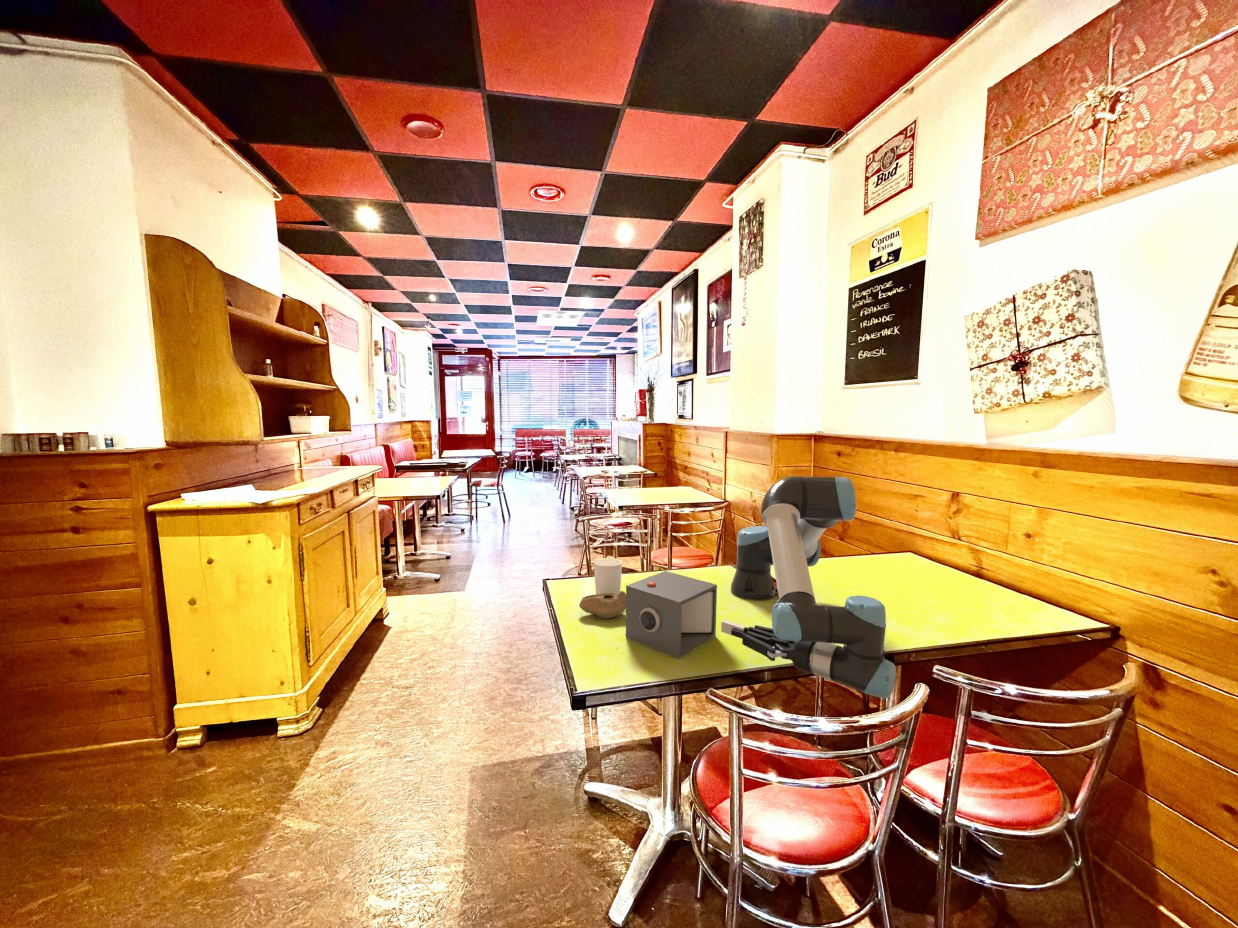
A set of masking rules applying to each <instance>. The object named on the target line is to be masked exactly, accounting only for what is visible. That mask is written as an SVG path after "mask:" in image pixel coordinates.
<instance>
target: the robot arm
mask: <svg viewBox="0 0 1238 928" xmlns="http://www.w3.org/2000/svg"><path fill="white" fill-rule="evenodd" d="M856 496H857V495H856V491H855V485H854V483H853V481H852V480H851V479H850V478H849V477H844V476H843V477H841V476H840V477H839V476H833V477H832V476H798V475H791V476H786V477H784V478H781V479H779V480H778V481H776V482H774V484H772V485H771V486H770V488H769V489H768V490H767V491H766V493H765V495H764V496H763V499H762V502H761V507H760V515H761V522H762V523H763V524H764V526H763V525H757V526H756V525H755V526H748V527H744V528H742V529H740V530H739V531H738V533H737V540H736V545H737V546H736V547H737V548H736V570H735V574H734V575H733V579H732V580H731V581H732V582H731V585H730V592H731V593H732V594H733V595H734V596H736V597H739V598H742V599H745V600H752V601H767V600H772V599H773V598H774V597H775V596H776V588H777V594H778V600H779V601H780V603H777V602H776V603H774V604H773V606H772V609H771V627H767V626H763V625H762V626H761V625H754V627H753V626H748V627H747V626H745V625H741V624H740V623H735V622H732V621H729V620H726V619H724V620H722V621H721V622H720V623H721V624H720V625H721V627H720V628H721V630H720V633H724V634H726V635H730V636H732V637H735V638H739V639H741V644H742V645H743V646H745V647H746V648H748V649H751V650H752V651H755V652H756V653H758V654H760V655H762V656H764V657H766V658H767V659H768V660H770V661H772V662H775V661H776V658H780V659H781V658H782V659H783V660H790V661H791V662H792V663H793V666H794V667H795V668H796V669H798V670H800V671H802V672H805V673H809V674H812V673H813V675H815V676H818V677H821V678H824V679H825V680H827V681H833V682H835V683H837V684H840V685H843V686H845V687H848V688H851V689H854V690H856V691H859V692H862V693H863V694H866V695H870V696H872V697H873V696H874V697H876V698H880V699H881V698H882V699H888V698H889V697H890V696H892V695H893V694H892V693H893V691H894V688H895V685H896V679H897V678H896V677H897V672H896V668H897V667H896V665H895V664H894V663H893V661H890V660H888V659H886V658H885V654H884V652H885V651H884V649H885V639H886V638H885V637H886V627H887V621H886V619H887V614H886V613H887V612H886V607H885V605H884V604H883V603H882V602H881V601H880V600H878V599H876V598H874V597H870V596H867V595H858V594H857V595H854V596H853V595H851V596H849V597H847V598H846V600H845V602H844V606H839V605H838V606H837V605H836V606H835V605H823V604H822V605H820V604H819V605H816V604H817V602H816V597H815V592H814V589H813V583H812V580H811V574H810V570H809V567H814V566H816V565H817V564H818V562H819V560H820V556H821V551H822V550H821V541H820V538H821V537H822V535H823V534H824V532H825V531H826V530H827V529H829V528H830V529H831V528H832V527H834V526H836V525H837V524H838V523H839V522H840V521H844V522H847V521H853V520H854V518H855V516H856V511H857V497H856ZM772 566H773V570H774V575H775V581H776V587H775V584H774V581H773V577H772V573H771V568H772ZM837 644H840V645H843V646H840V645H837Z"/></svg>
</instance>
